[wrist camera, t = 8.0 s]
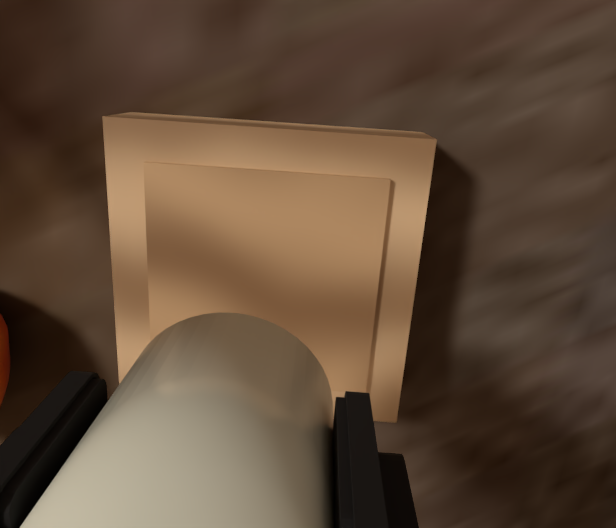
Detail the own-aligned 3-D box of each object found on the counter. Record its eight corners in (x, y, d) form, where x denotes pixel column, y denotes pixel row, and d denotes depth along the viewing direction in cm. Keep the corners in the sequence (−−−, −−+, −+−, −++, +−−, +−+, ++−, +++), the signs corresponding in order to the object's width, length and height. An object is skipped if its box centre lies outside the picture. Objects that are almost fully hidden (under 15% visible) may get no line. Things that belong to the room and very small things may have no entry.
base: (131, 111, 22) (99, 116, 18) (421, 132, 21) (438, 140, 18) (143, 366, 25) (118, 405, 22) (388, 384, 25) (396, 426, 22)
